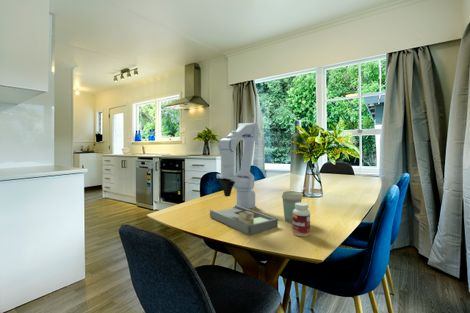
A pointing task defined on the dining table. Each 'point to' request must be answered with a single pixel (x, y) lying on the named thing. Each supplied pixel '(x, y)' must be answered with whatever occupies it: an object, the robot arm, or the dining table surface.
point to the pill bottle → (301, 220)
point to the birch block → (246, 217)
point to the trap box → (232, 220)
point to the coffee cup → (290, 204)
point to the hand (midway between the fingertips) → (227, 196)
